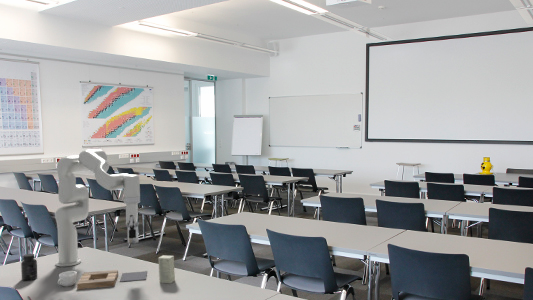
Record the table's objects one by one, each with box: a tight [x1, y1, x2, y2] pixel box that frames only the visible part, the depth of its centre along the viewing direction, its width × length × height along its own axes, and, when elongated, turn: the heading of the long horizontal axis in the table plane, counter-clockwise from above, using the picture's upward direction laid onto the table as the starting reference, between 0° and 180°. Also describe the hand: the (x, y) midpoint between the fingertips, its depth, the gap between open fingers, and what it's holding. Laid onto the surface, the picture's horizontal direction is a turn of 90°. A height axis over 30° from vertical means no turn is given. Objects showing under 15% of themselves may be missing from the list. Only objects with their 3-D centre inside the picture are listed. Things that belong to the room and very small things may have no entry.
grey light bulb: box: [125, 221, 140, 244], centre depth 210 cm, size 6×6×10 cm
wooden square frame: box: [76, 269, 119, 290], centre depth 204 cm, size 16×16×3 cm
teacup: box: [57, 270, 78, 287], centre depth 200 cm, size 10×8×5 cm
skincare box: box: [158, 254, 176, 284], centre depth 203 cm, size 6×4×12 cm
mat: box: [119, 270, 148, 283], centre depth 211 cm, size 12×12×1 cm
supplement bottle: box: [20, 253, 38, 282], centre depth 209 cm, size 7×7×12 cm
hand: (133, 236), depth 210 cm, fingers closed on grey light bulb, 5 cm apart
